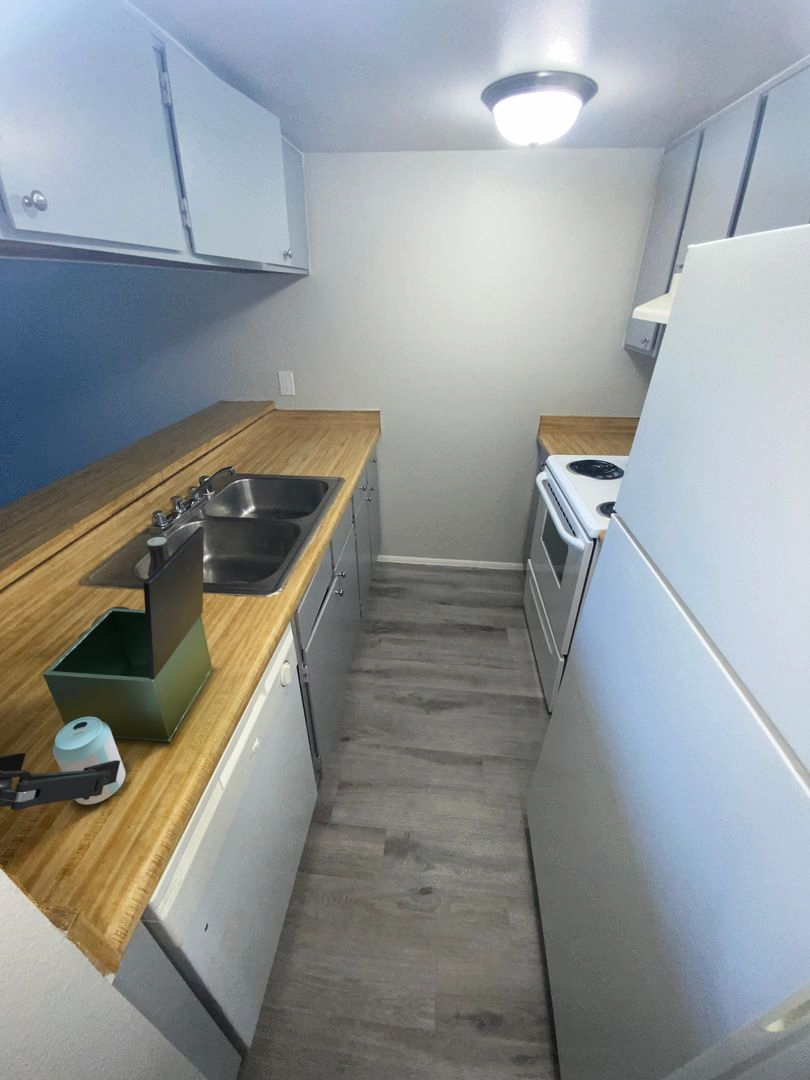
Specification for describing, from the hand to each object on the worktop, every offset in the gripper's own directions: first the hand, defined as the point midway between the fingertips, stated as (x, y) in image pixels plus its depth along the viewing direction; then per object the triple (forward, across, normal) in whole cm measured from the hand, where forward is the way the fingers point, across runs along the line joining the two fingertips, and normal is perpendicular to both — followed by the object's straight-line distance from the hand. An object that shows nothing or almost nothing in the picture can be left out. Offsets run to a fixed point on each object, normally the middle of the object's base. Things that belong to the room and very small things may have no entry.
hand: (68, 767), depth 66 cm
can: (+9, 0, +4) cm, 10 cm away
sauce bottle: (+40, +10, -26) cm, 49 cm away
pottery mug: (+32, +18, -18) cm, 41 cm away
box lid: (+4, -8, -25) cm, 26 cm away
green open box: (+21, +2, -8) cm, 23 cm away
